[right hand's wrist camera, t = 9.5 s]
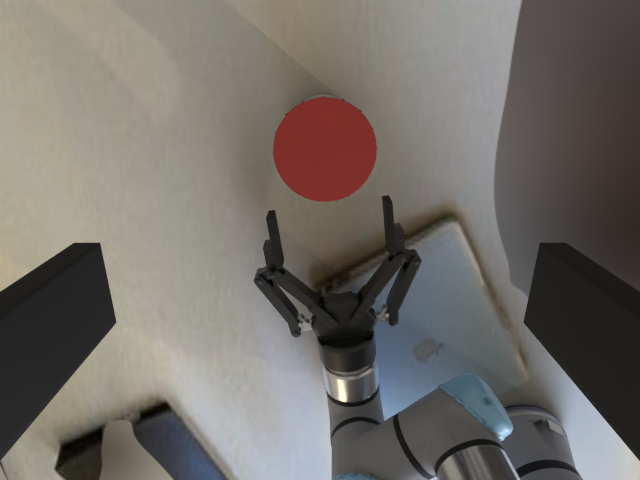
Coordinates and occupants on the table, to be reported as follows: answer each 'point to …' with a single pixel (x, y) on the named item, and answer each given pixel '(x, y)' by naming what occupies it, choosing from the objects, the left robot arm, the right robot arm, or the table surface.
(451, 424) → the left robot arm
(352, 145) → the lid
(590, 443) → the table surface
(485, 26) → the table surface
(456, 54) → the table surface
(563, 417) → the table surface
